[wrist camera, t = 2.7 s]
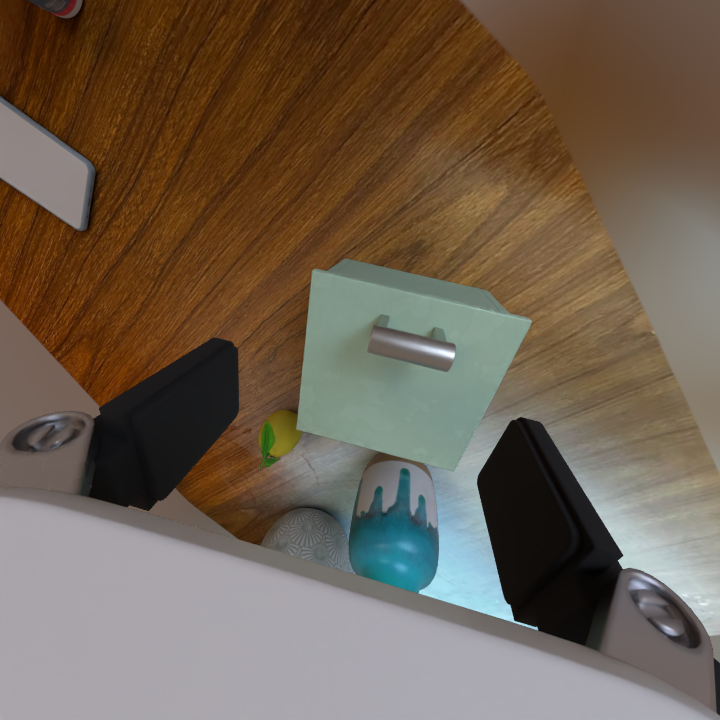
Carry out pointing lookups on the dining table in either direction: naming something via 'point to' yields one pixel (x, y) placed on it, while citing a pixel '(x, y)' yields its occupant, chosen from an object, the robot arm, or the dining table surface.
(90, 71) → the dining table surface
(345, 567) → the planter
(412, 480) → the vase
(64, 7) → the pill bottle
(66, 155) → the smartphone
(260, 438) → the lemon
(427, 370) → the box lid
